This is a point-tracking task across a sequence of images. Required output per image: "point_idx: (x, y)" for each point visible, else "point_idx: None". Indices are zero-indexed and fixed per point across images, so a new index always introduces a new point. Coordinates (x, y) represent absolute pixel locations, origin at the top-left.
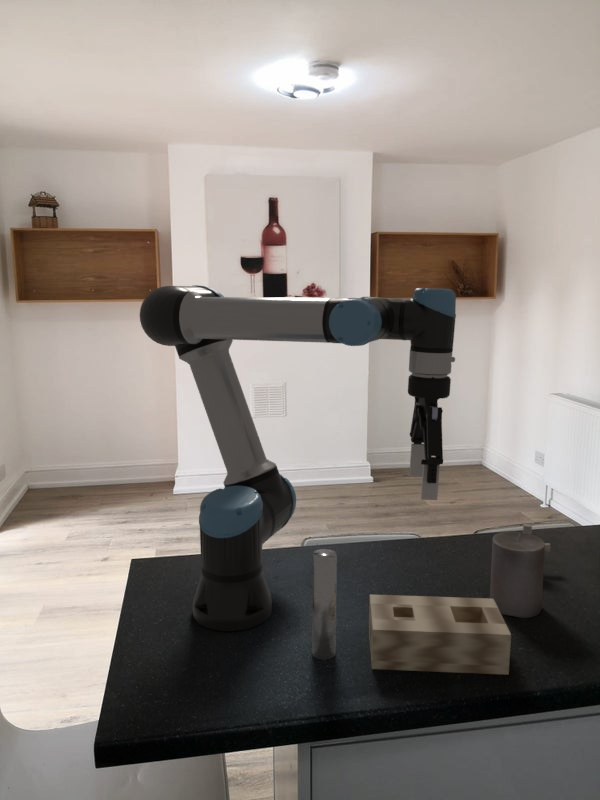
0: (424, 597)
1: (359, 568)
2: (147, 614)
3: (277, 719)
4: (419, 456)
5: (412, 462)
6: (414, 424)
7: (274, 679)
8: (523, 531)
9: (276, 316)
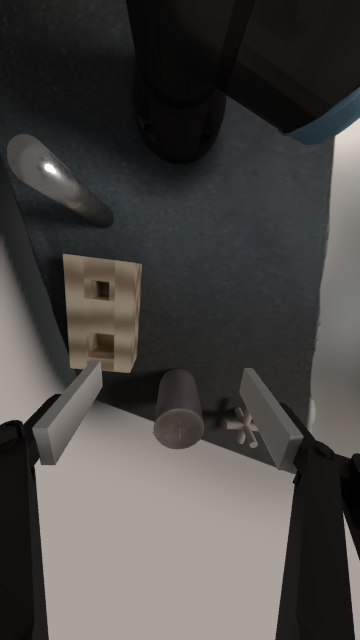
0: (129, 316)
1: (259, 274)
2: None
3: (5, 164)
4: (262, 421)
5: (258, 393)
6: None
7: None
8: (250, 436)
9: None
